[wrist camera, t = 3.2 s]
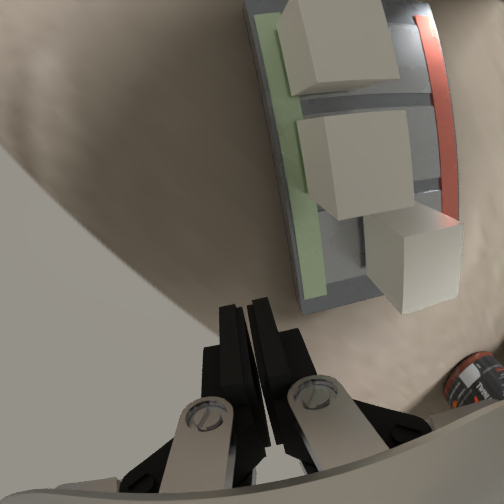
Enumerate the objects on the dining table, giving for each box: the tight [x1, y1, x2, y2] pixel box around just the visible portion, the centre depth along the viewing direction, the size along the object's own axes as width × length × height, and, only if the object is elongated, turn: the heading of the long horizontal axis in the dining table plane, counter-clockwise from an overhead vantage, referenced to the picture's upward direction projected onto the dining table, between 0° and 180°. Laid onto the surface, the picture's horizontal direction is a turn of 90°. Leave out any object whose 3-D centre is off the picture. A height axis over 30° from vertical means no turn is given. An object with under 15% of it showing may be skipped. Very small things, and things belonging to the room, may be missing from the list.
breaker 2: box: [296, 110, 414, 221], centre depth 12 cm, size 3×3×4 cm
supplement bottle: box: [444, 351, 504, 409], centre depth 18 cm, size 6×6×11 cm
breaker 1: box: [276, 0, 400, 96], centre depth 10 cm, size 3×3×4 cm
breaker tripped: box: [363, 201, 464, 315], centre depth 13 cm, size 3×3×4 cm
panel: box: [243, 0, 459, 315], centre depth 15 cm, size 10×16×2 cm, turn 11°
